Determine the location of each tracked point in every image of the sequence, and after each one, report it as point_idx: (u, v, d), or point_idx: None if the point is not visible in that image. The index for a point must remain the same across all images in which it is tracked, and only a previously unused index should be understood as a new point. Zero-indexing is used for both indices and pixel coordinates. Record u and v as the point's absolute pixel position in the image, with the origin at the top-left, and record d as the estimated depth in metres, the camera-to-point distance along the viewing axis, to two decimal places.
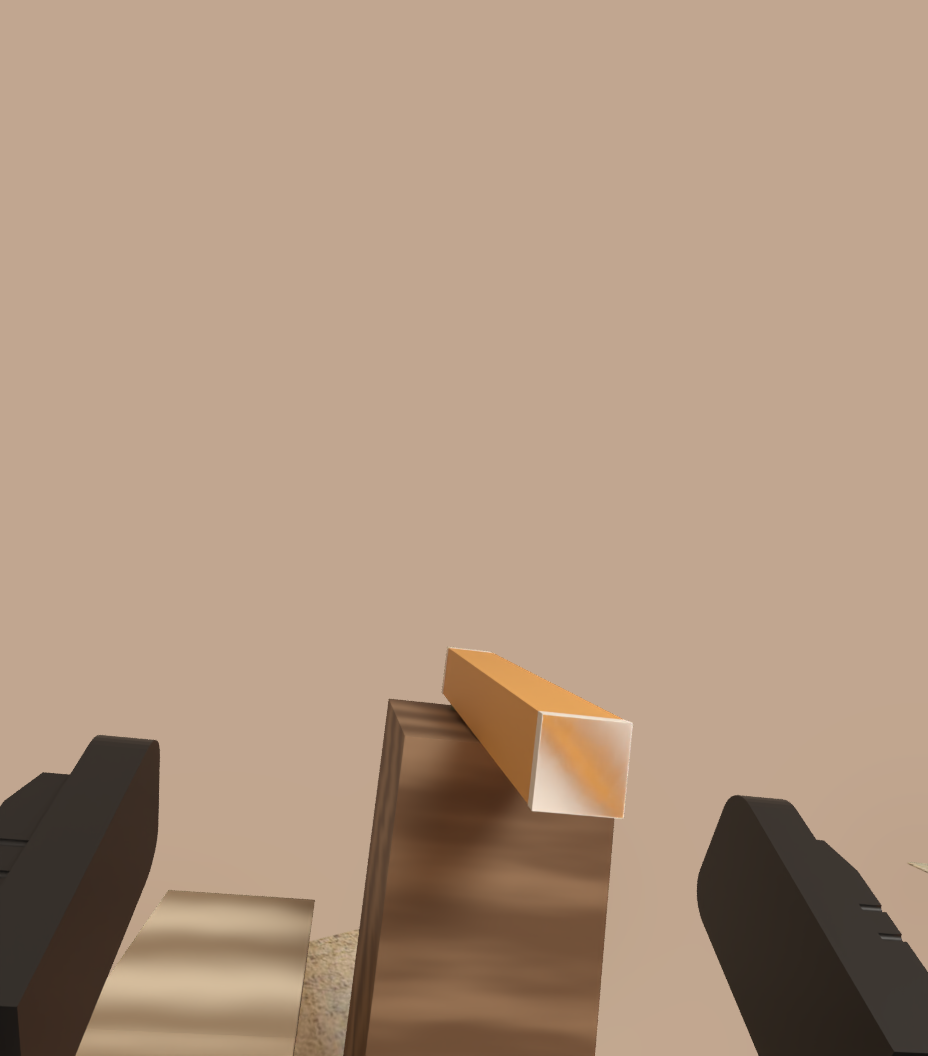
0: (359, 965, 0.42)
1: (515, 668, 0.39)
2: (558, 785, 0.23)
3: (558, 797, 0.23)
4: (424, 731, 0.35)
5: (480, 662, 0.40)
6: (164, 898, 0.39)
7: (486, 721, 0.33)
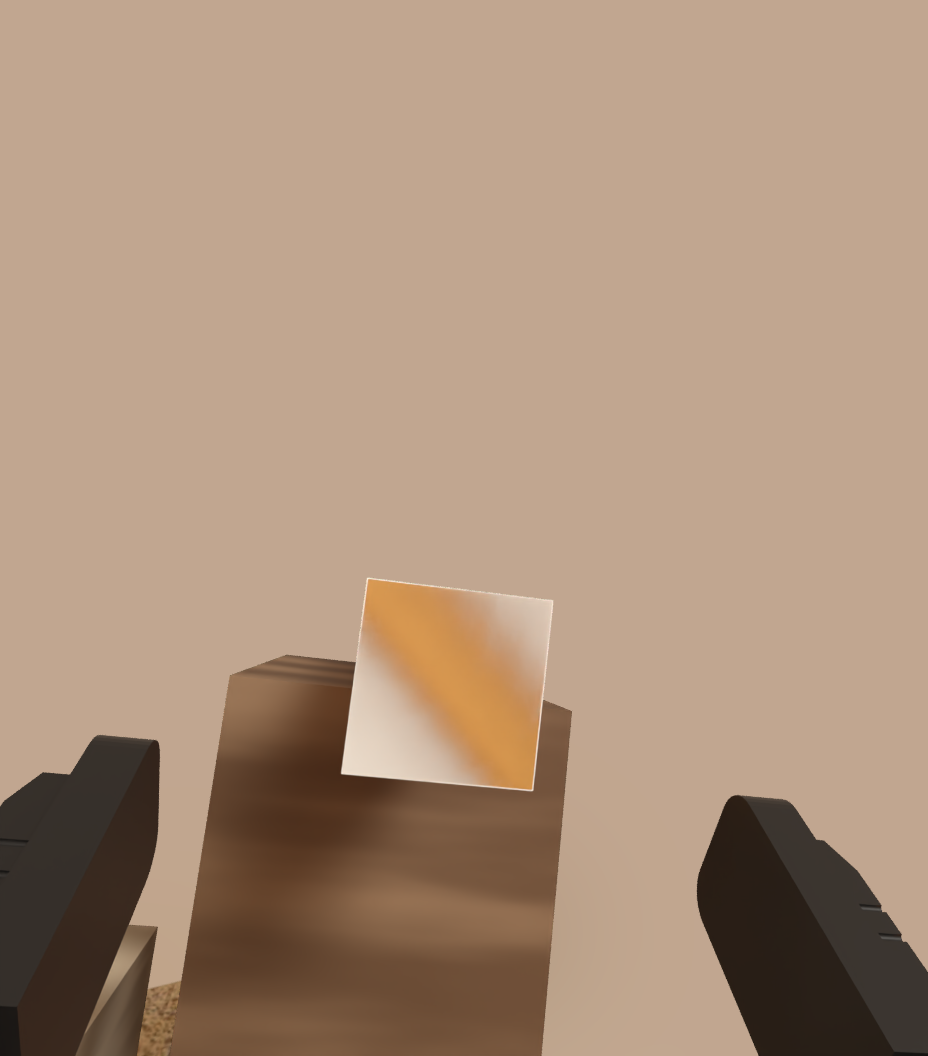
0: None
1: None
2: (398, 722, 0.11)
3: (397, 746, 0.11)
4: (277, 675, 0.23)
5: None
6: None
7: None
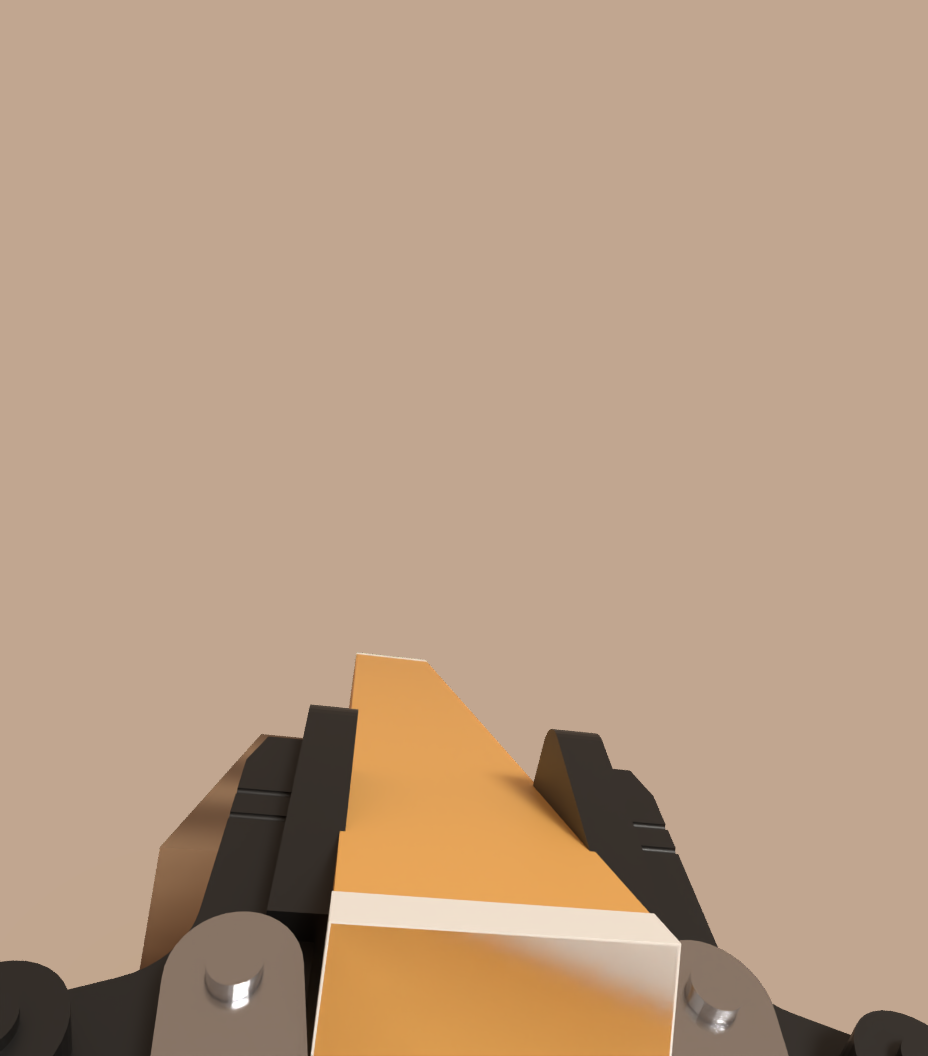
0: None
1: (436, 691, 0.22)
2: None
3: None
4: None
5: (378, 680, 0.23)
6: None
7: None
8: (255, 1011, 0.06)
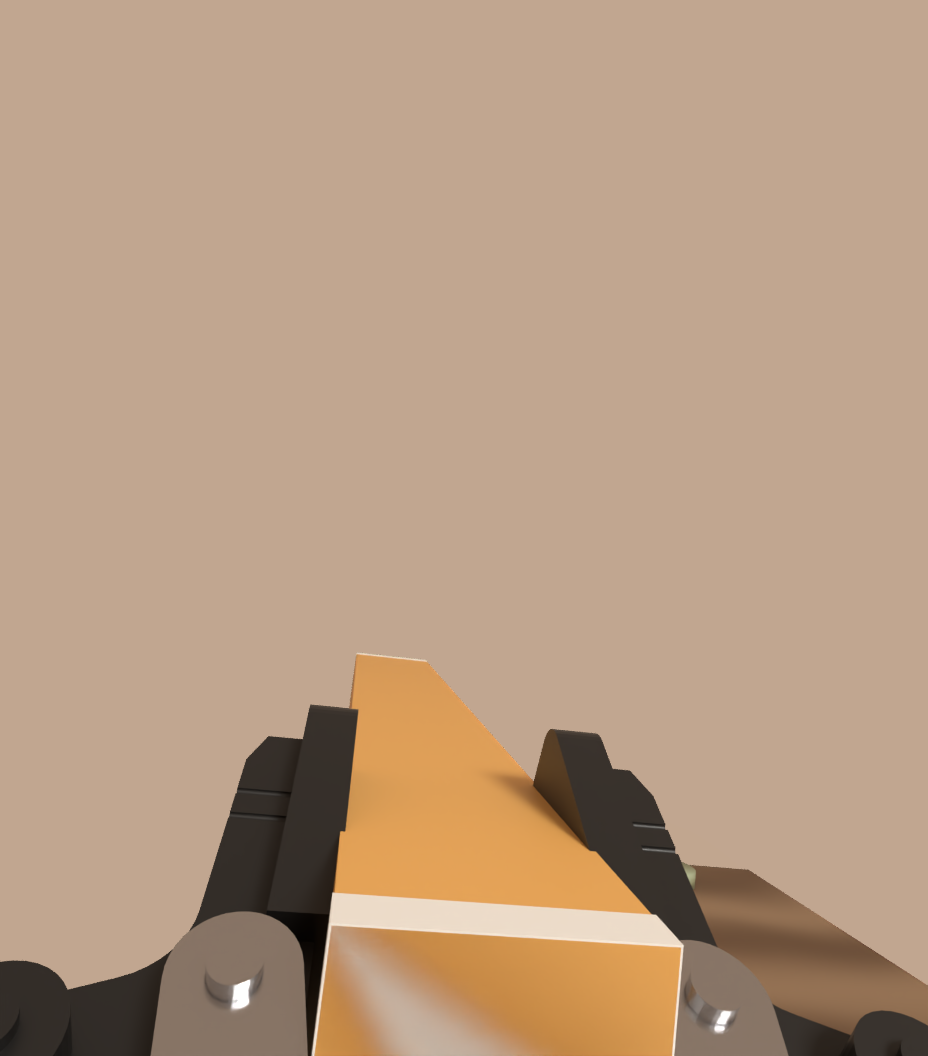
0: None
1: (437, 692, 0.22)
2: None
3: None
4: None
5: (378, 680, 0.23)
6: None
7: None
8: (255, 1011, 0.06)
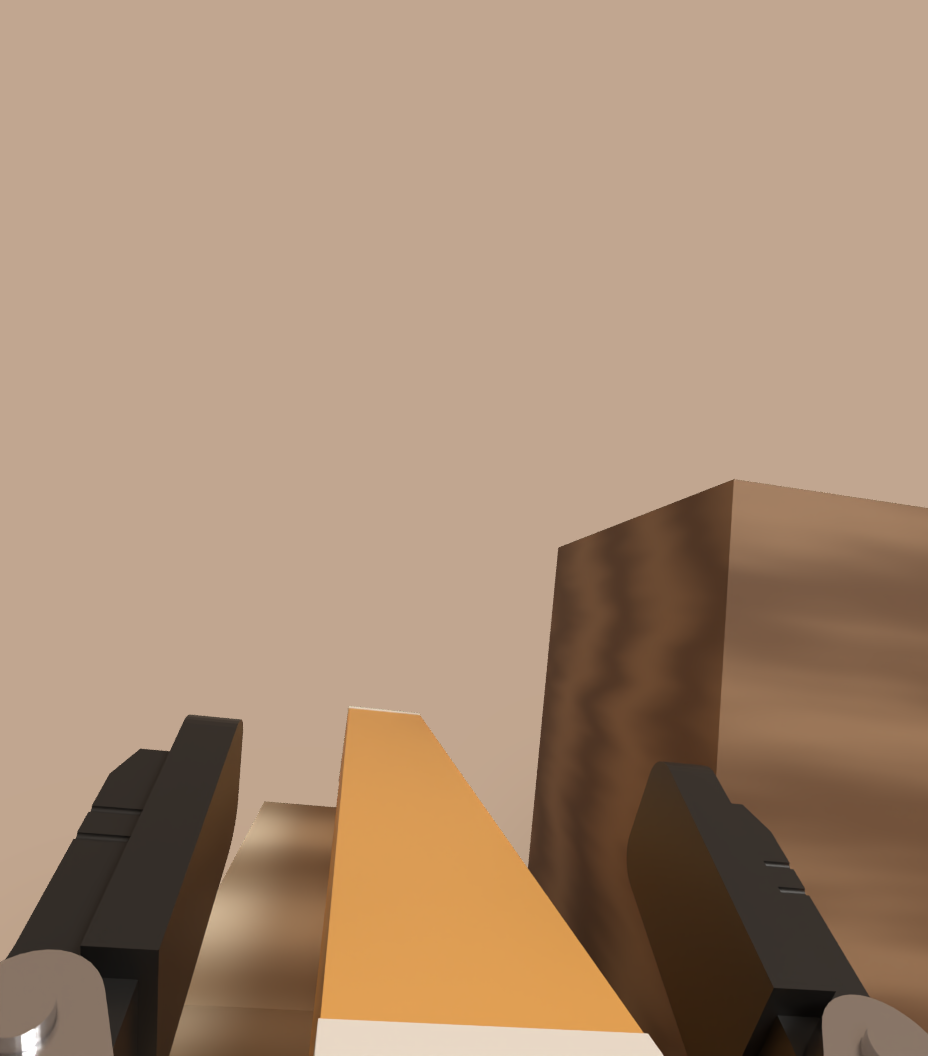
0: None
1: (429, 753, 0.21)
2: None
3: None
4: None
5: (370, 741, 0.22)
6: (262, 810, 0.24)
7: None
8: None
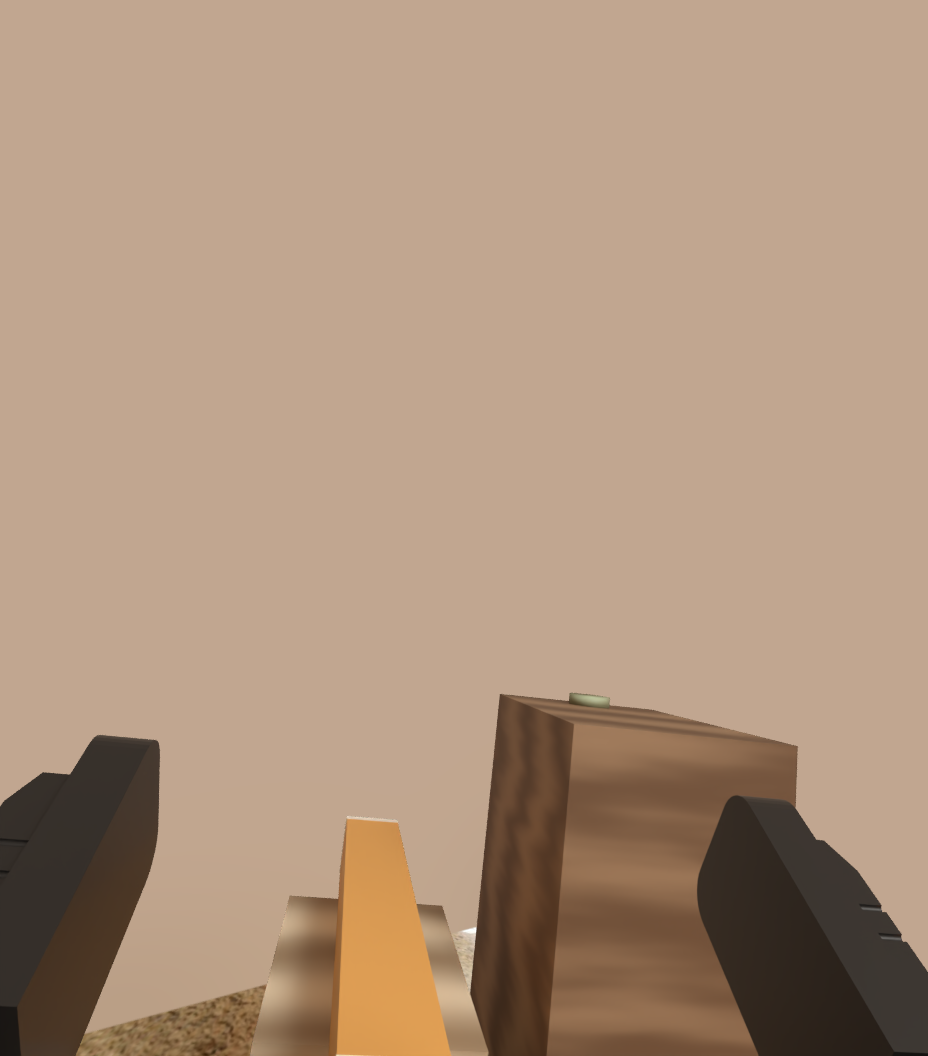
0: (489, 976, 0.39)
1: (398, 875, 0.34)
2: None
3: None
4: (583, 720, 0.33)
5: (360, 864, 0.35)
6: (289, 904, 0.37)
7: (335, 979, 0.27)
8: None
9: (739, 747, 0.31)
